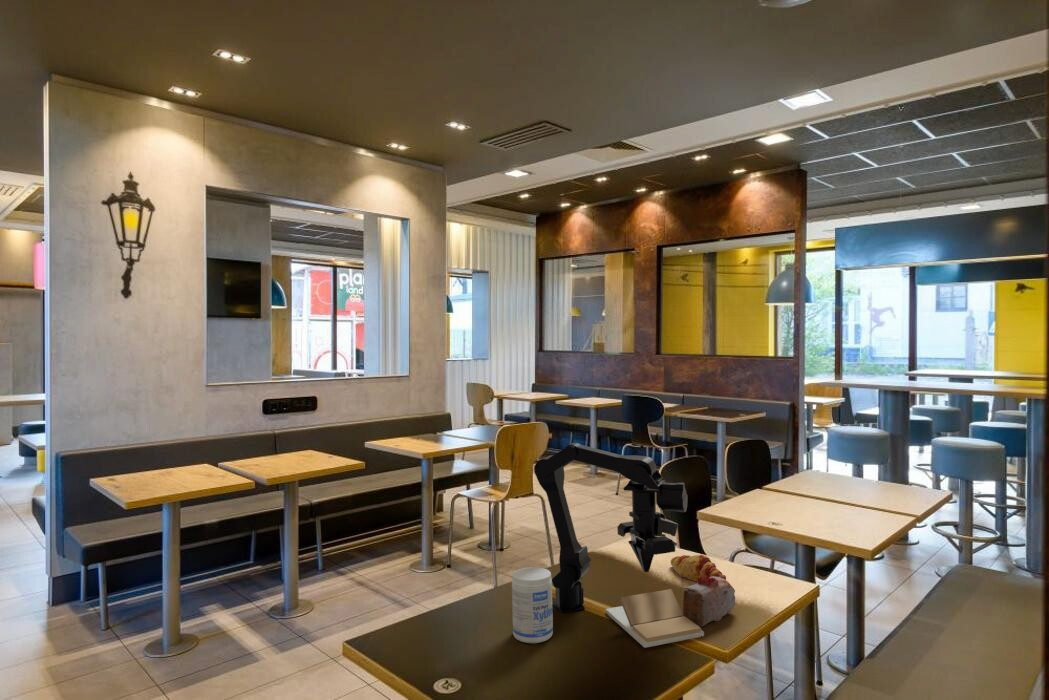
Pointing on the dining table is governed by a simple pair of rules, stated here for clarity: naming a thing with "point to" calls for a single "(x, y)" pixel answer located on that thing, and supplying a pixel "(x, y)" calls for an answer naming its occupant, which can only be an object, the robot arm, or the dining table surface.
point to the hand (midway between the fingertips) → (646, 571)
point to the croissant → (695, 567)
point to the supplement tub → (532, 604)
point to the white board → (657, 629)
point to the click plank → (651, 607)
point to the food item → (708, 600)
